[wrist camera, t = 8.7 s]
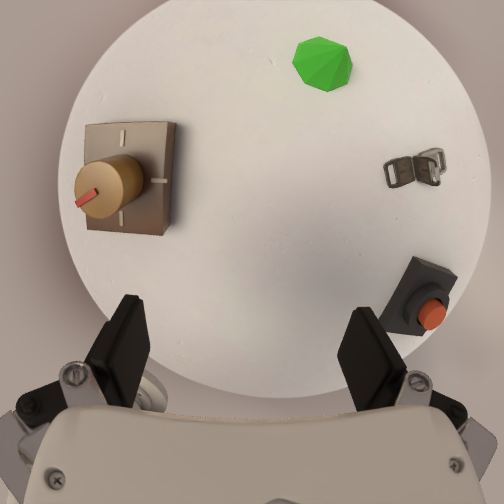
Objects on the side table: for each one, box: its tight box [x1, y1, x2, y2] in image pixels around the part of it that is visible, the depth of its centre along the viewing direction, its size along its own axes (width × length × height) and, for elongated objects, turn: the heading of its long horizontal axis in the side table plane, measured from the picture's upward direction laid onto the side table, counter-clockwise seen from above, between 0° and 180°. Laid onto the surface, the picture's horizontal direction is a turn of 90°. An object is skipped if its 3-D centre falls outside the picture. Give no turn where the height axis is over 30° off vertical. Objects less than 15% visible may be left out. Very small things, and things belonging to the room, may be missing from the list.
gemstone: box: [293, 37, 352, 92], centre depth 18 cm, size 6×6×6 cm
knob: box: [75, 154, 144, 219], centre depth 19 cm, size 4×4×5 cm
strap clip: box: [384, 148, 446, 188], centre depth 23 cm, size 8×3×4 cm, turn 110°
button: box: [418, 299, 446, 330], centre depth 28 cm, size 4×4×2 cm
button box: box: [379, 256, 458, 336], centre depth 30 cm, size 10×8×4 cm
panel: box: [84, 122, 176, 236], centre depth 23 cm, size 10×9×3 cm
